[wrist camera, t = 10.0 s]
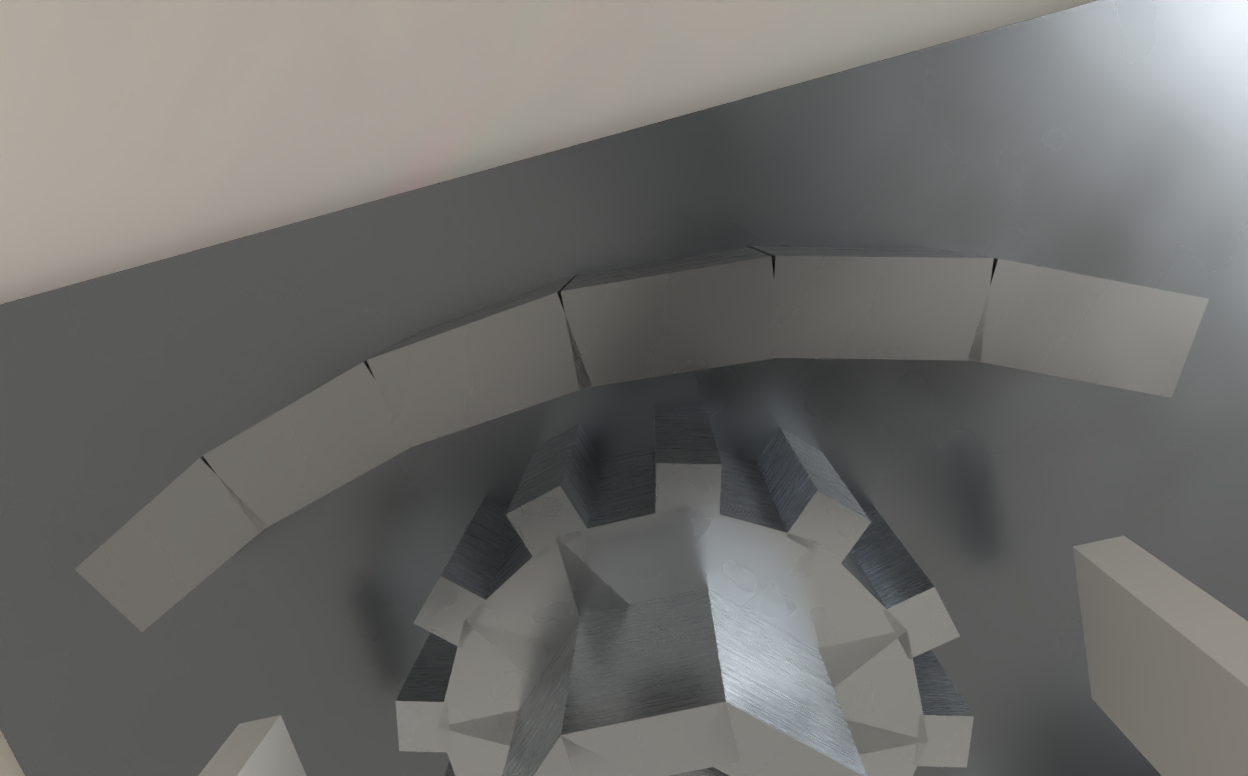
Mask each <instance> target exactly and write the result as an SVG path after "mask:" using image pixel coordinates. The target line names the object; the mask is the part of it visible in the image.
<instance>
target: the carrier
mask: <svg viewBox="0 0 1248 776" xmlns="http://www.w3.org/2000/svg"><path fill="white" fill-rule="evenodd" d="M654 406H702V407H705V408H706V412H707V415H708V419H709V422H710V425H711V429H712V432H713V436H714V439H715V443H716V446H717V450H719V451H722V452H726V453H729V454H733V455H737V456H740V457H744V458H748V459H751V460H755V461H757V460H758V458H759V457H760V455H761V454H762V452H763V451H764V449H765V448H766V447H767V445H768V444H769V442H770V441H771V439H772V438H773V436H774V435H775V433H776V432H777V430H778V429H779V427H780V428H782V429H784V430H785V431H787V432H789V433H791V434H792V435H794V436H796V437H797V438H799V439H801V440H803V441H804V442H806V443H808V444H809V445H811V446H813V447H814V448H816V449H818V450H820V451H821V452H822V453H823V454H824V456H825V457H826V458H827V460H828V461H829V463H830V464H831V465H832V467H833V468H834V470H835V471H836V472H837V474H838V475H839V477H840V478H841V479H842V481H843V482H844V484H845V485H846V487H847V488H848V489H849V491H850V492H851V494H852V495H853V496H854V498H855V499H856V501H857V502H858V503H859V505H860V506H861V508H864V507H866V506H869V505H871V504H873V506H874V507H875V508H876V510H877V511H878V512H879V514H880V515H881V516H882V518H883V519H884V520H885V522H886V523H887V524H888V526H889V527H890V528H891V530H892V531H893V532H894V534H895V535H896V536H897V538H898V539H899V540H900V541H901V543H902V544H903V545H904V547H905V548H906V549H907V551H908V552H909V553H910V555H911V556H912V557H913V559H914V560H915V561H916V563H917V564H918V565H919V567H920V568H921V569H922V571H923V572H924V573H925V575H926V576H927V577H928V579H929V580H930V581H931V583H932V584H933V585H934V587H935V588H936V590H937V592H938V594H939V596H940V598H941V600H942V602H943V604H944V606H945V608H946V610H947V612H948V614H949V616H950V617H951V619H952V621H953V623H954V625H955V627H956V629H957V631H958V633H959V635H960V637H957V638H955V639H953V640H951V641H949V642H946V643H944V644H942V645H940V646H938V647H935V648H933V649H931V650H932V652H933V653H934V655H935V656H936V658H937V659H938V661H939V663H940V664H941V666H942V667H943V669H944V670H945V672H946V674H947V675H948V677H949V678H950V680H951V681H952V683H953V684H954V686H955V688H956V689H957V691H958V692H959V694H960V695H961V697H962V699H963V700H964V702H965V703H966V705H967V706H968V708H969V710H970V711H971V713H972V714H973V716H974V720H973V727H972V734H971V741H970V748H969V755H968V762H967V768H965V767H930V766H917V768H916V770H915V772H914V774H913V776H1161V775H1160V773H1159V772H1158V771H1157V770H1156V769H1155V768H1154V767H1153V766H1152V765H1151V763H1150V762H1149V761H1148V760H1147V759H1146V758H1145V757H1144V756H1143V755H1142V753H1141V752H1140V751H1139V750H1138V749H1137V748H1136V747H1135V746H1134V745H1133V744H1132V742H1131V741H1130V740H1129V739H1128V738H1127V737H1126V736H1125V735H1124V734H1123V732H1122V731H1121V730H1120V729H1119V728H1118V727H1117V726H1116V725H1115V724H1114V722H1113V721H1112V720H1111V719H1110V718H1109V717H1108V716H1107V715H1106V714H1105V712H1104V711H1103V710H1102V709H1101V708H1100V707H1099V706H1098V705H1097V704H1096V702H1095V701H1094V700H1093V699H1092V695H1091V688H1090V680H1089V672H1088V664H1087V656H1086V648H1085V640H1084V632H1083V625H1082V617H1081V609H1080V601H1079V593H1078V585H1077V577H1076V569H1075V562H1074V554H1073V546H1077V545H1082V544H1087V543H1091V542H1096V541H1101V540H1105V539H1110V538H1115V537H1120V536H1125V537H1127V538H1128V539H1130V540H1131V541H1133V542H1134V543H1135V544H1137V545H1138V546H1140V547H1141V548H1143V549H1144V550H1146V551H1147V552H1148V553H1150V554H1151V555H1153V556H1154V557H1156V558H1157V559H1159V560H1160V561H1161V562H1163V563H1164V564H1166V565H1167V566H1169V567H1170V568H1172V569H1173V570H1174V571H1176V572H1177V573H1179V574H1180V575H1182V576H1183V577H1185V578H1186V579H1187V580H1189V581H1190V582H1192V583H1193V584H1195V585H1196V586H1198V587H1199V588H1200V589H1202V590H1203V591H1205V592H1206V593H1208V594H1209V595H1211V596H1212V597H1213V598H1215V599H1216V600H1218V601H1219V602H1221V603H1222V604H1224V605H1225V606H1226V607H1228V608H1229V609H1231V610H1232V611H1234V612H1235V613H1237V614H1238V615H1239V616H1241V617H1242V618H1244V619H1245V620H1247V621H1248V0H1098V1H1095V2H1091V3H1087V4H1084V5H1080V6H1077V7H1073V8H1069V9H1066V10H1062V11H1058V12H1055V13H1051V14H1048V15H1044V16H1040V17H1037V18H1033V19H1030V20H1026V21H1022V22H1019V23H1015V24H1012V25H1008V26H1004V27H1001V28H997V29H994V30H990V31H986V32H983V33H979V34H975V35H972V36H968V37H965V38H961V39H957V40H954V41H950V42H947V43H943V44H939V45H936V46H932V47H929V48H925V49H921V50H918V51H914V52H911V53H907V54H903V55H900V56H896V57H893V58H889V59H885V60H882V61H878V62H874V63H871V64H867V65H864V66H860V67H856V68H853V69H849V70H846V71H842V72H838V73H835V74H831V75H828V76H824V77H820V78H817V79H813V80H810V81H806V82H802V83H799V84H795V85H791V86H788V87H784V88H781V89H777V90H773V91H770V92H766V93H763V94H759V95H755V96H752V97H748V98H745V99H741V100H737V101H734V102H730V103H727V104H723V105H719V106H716V107H712V108H709V109H705V110H701V111H698V112H694V113H690V114H687V115H683V116H680V117H676V118H672V119H669V120H665V121H662V122H658V123H654V124H651V125H647V126H644V127H640V128H636V129H633V130H629V131H626V132H622V133H618V134H615V135H611V136H607V137H604V138H600V139H597V140H593V141H589V142H586V143H582V144H579V145H575V146H571V147H568V148H564V149H561V150H557V151H553V152H550V153H546V154H543V155H539V156H535V157H532V158H528V159H524V160H521V161H517V162H514V163H510V164H506V165H503V166H499V167H496V168H492V169H488V170H485V171H481V172H478V173H474V174H470V175H467V176H463V177H460V178H456V179H452V180H449V181H445V182H442V183H438V184H434V185H431V186H427V187H423V188H420V189H416V190H413V191H409V192H405V193H402V194H398V195H395V196H391V197H387V198H384V199H380V200H377V201H373V202H369V203H366V204H362V205H359V206H355V207H351V208H348V209H344V210H340V211H337V212H333V213H330V214H326V215H322V216H319V217H315V218H312V219H308V220H304V221H301V222H297V223H294V224H290V225H286V226H283V227H279V228H276V229H272V230H268V231H265V232H261V233H258V234H254V235H250V236H247V237H243V238H239V239H236V240H232V241H229V242H225V243H221V244H218V245H214V246H211V247H207V248H203V249H200V250H196V251H193V252H189V253H185V254H182V255H178V256H175V257H171V258H167V259H164V260H160V261H156V262H153V263H149V264H146V265H142V266H138V267H135V268H131V269H128V270H124V271H120V272H117V273H113V274H110V275H106V276H102V277H99V278H95V279H92V280H88V281H84V282H81V283H77V284H73V285H70V286H66V287H63V288H59V289H55V290H52V291H48V292H45V293H41V294H37V295H34V296H30V297H27V298H23V299H19V300H16V301H12V302H9V303H5V304H1V305H0V729H1V731H2V733H3V735H4V736H5V738H6V740H7V742H8V744H9V746H10V748H11V750H12V751H13V753H14V755H15V757H16V759H17V761H18V763H19V765H20V767H21V768H22V770H23V772H24V774H25V776H198V775H199V774H200V773H201V772H202V770H203V769H204V768H205V766H206V765H207V764H208V763H209V761H210V760H211V759H212V758H213V756H214V755H215V754H216V752H217V751H218V750H219V749H220V747H221V746H222V745H223V744H224V742H225V741H226V740H227V739H228V737H229V736H230V735H231V733H232V732H233V731H234V730H235V728H236V727H237V726H238V725H239V724H240V723H245V722H250V721H254V720H259V719H264V718H269V717H273V716H278V715H281V717H282V719H283V721H284V724H285V726H286V728H287V731H288V733H289V736H290V738H291V740H292V743H293V745H294V747H295V750H296V752H297V754H298V757H299V759H300V761H301V764H302V766H303V769H304V771H305V773H306V776H444V774H445V771H446V769H447V766H448V763H449V757H448V754H447V752H413V751H399V740H398V727H397V715H396V702H395V701H396V699H397V697H398V695H399V693H400V691H401V689H402V687H403V685H404V683H405V681H406V679H407V677H408V675H409V673H410V671H411V669H412V667H413V665H414V663H415V661H416V659H417V657H418V656H419V654H420V652H421V650H422V648H423V646H424V644H425V642H426V640H427V638H428V636H429V634H430V632H429V631H427V630H426V629H424V628H422V627H420V626H418V625H416V624H414V621H415V619H416V617H417V616H418V614H419V612H420V610H421V608H422V607H423V605H424V603H425V601H426V600H427V598H428V596H429V594H430V592H431V591H432V589H433V587H434V585H435V583H436V582H437V580H438V578H439V576H440V575H441V573H442V571H443V569H444V567H445V566H446V564H447V562H448V560H449V559H450V557H451V555H452V553H453V551H454V550H455V548H456V546H457V544H458V543H459V541H460V539H461V537H462V535H463V534H464V532H465V530H466V528H467V527H468V525H469V523H470V522H471V520H472V518H473V516H474V515H475V513H476V511H477V510H478V508H479V506H480V504H481V503H482V501H483V499H484V497H487V498H489V499H491V500H493V501H494V502H496V503H498V504H500V505H502V506H503V507H505V508H507V509H508V508H509V506H510V504H511V502H512V500H513V498H514V495H515V493H516V491H517V489H518V487H519V484H520V482H521V480H522V478H523V476H524V474H525V471H526V469H527V467H528V465H529V463H530V461H531V458H532V456H533V454H534V452H535V450H536V447H538V446H539V445H541V444H543V443H545V442H547V441H549V440H551V439H552V438H554V437H556V436H558V435H560V434H562V433H563V432H565V431H567V430H569V429H571V428H573V427H575V426H576V425H578V424H580V426H581V427H582V429H583V431H584V432H585V434H586V436H587V437H588V439H589V441H590V442H591V444H592V445H593V447H594V449H595V450H596V452H597V454H598V455H599V457H600V458H603V457H607V456H612V455H616V454H620V453H624V452H629V451H633V450H637V449H641V448H645V447H650V446H654ZM669 776H729V775H727V774H725V773H723V772H721V771H720V770H718V769H716V768H714V767H710V768H705V769H700V770H695V771H689V772H684V773H679V774H674V775H669Z"/></svg>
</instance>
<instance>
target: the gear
mask: <svg viewBox="0 0 1248 776" xmlns="http://www.w3.org/2000/svg"><path fill="white" fill-rule="evenodd" d="M414 624H416V625H418V626H420V627H422V628H424V629H426V630H427V631H429V632H430V634H429V636H428V638H427V640H426V642H425V644H424V646H423V648H422V650H421V652H420V654H419V656H418V657H417V659H416V661H415V663H414V665H413V667H412V669H411V671H410V673H409V675H408V677H407V679H406V681H405V683H404V685H403V687H402V689H401V691H400V693H399V695H398V697H397V699H396V701H395V702H396V715H397V727H398V740H399V751H413V752H447V754H448V757H449V763H448V766H447V769H446V771H445V774H444V776H669V775H674V774H679V773H684V772H689V771H695V770H700V769H705V768H710V767H714V768H716V769H718V770H720V771H721V772H723V773H725V774H727V775H729V776H913V774H914V772H915V770H916V768H917V766H930V767H965V768H967V762H968V755H969V748H970V741H971V734H972V727H973V720H974V716H973V714H972V713H971V711H970V710H969V708H968V706H967V705H966V703H965V702H964V700H963V699H962V697H961V695H960V694H959V692H958V691H957V689H956V688H955V686H954V684H953V683H952V681H951V680H950V678H949V677H948V675H947V674H946V672H945V670H944V669H943V667H942V666H941V664H940V663H939V661H938V659H937V658H936V656H935V655H934V653H933V652H932V650H931V649H933V648H935V647H938V646H940V645H942V644H944V643H946V642H949V641H951V640H953V639H955V638H957V637H960V635H959V633H958V631H957V629H956V627H955V625H954V623H953V621H952V619H951V617H950V616H949V614H948V612H947V610H946V608H945V606H944V604H943V602H942V600H941V598H940V596H939V594H938V592H937V590H936V588H935V587H934V585H933V584H932V583H931V581H930V580H929V579H928V577H927V576H926V575H925V573H924V572H923V571H922V569H921V568H920V567H919V565H918V564H917V563H916V561H915V560H914V559H913V557H912V556H911V555H910V553H909V552H908V551H907V549H906V548H905V547H904V545H903V544H902V543H901V541H900V540H899V539H898V538H897V536H896V535H895V534H894V532H893V531H892V530H891V528H890V527H889V526H888V524H887V523H886V522H885V520H884V519H883V518H882V516H881V515H880V514H879V512H878V511H877V510H876V508H875V507H874V506H873V504H871V505H869V506H866V507H864V508H861V506H860V505H859V503H858V502H857V501H856V499H855V498H854V496H853V495H852V494H851V492H850V491H849V489H848V488H847V487H846V485H845V484H844V482H843V481H842V479H841V478H840V477H839V475H838V474H837V472H836V471H835V470H834V468H833V467H832V465H831V464H830V463H829V461H828V460H827V458H826V457H825V456H824V454H823V453H822V452H821V451H820V450H818V449H816V448H814V447H813V446H811V445H809V444H808V443H806V442H804V441H803V440H801V439H799V438H797V437H796V436H794V435H792V434H791V433H789V432H787V431H785V430H784V429H782V428H780V427H779V429H778V430H777V432H776V433H775V435H774V436H773V438H772V439H771V441H770V442H769V444H768V445H767V447H766V448H765V449H764V451H763V452H762V454H761V455H760V457H759V458H758V460H757V461H755V460H751V459H748V458H744V457H740V456H737V455H733V454H729V453H726V452H722V451H719V450H717V446H716V443H715V439H714V436H713V432H712V429H711V425H710V422H709V419H708V415H707V412H706V408H705V407H702V406H654V446H650V447H645V448H641V449H637V450H633V451H629V452H624V453H620V454H616V455H612V456H607V457H603V458H600V457H599V455H598V454H597V452H596V450H595V449H594V447H593V445H592V444H591V442H590V441H589V439H588V437H587V436H586V434H585V432H584V431H583V429H582V427H581V426H580V424H578V425H576V426H575V427H573V428H571V429H569V430H567V431H565V432H563V433H562V434H560V435H558V436H556V437H554V438H552V439H551V440H549V441H547V442H545V443H543V444H541V445H539V446H538V447H536V450H535V452H534V454H533V456H532V458H531V461H530V463H529V465H528V467H527V469H526V471H525V474H524V476H523V478H522V480H521V482H520V484H519V487H518V489H517V491H516V493H515V495H514V498H513V500H512V502H511V504H510V506H509V508H508V509H507V508H505V507H503V506H502V505H500V504H498V503H496V502H494V501H493V500H491V499H489V498H487V497H484V499H483V501H482V503H481V504H480V506H479V508H478V510H477V511H476V513H475V515H474V516H473V518H472V520H471V522H470V523H469V525H468V527H467V528H466V530H465V532H464V534H463V535H462V537H461V539H460V541H459V543H458V544H457V546H456V548H455V550H454V551H453V553H452V555H451V557H450V559H449V560H448V562H447V564H446V566H445V567H444V569H443V571H442V573H441V575H440V576H439V578H438V580H437V582H436V583H435V585H434V587H433V589H432V591H431V592H430V594H429V596H428V598H427V600H426V601H425V603H424V605H423V607H422V608H421V610H420V612H419V614H418V616H417V617H416V619H415V621H414Z"/></svg>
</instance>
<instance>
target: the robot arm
mask: <svg viewBox="0 0 1248 776" xmlns="http://www.w3.org/2000/svg"><path fill="white" fill-rule="evenodd" d="M1073 554H1074V562H1075V569H1076V577H1077V585H1078V593H1079V601H1080V609H1081V617H1082V625H1083V632H1084V640H1085V648H1086V656H1087V664H1088V672H1089V680H1090V688H1091V695H1092V699H1093V700H1094V701H1095V702H1096V704H1097V705H1098V706H1099V707H1100V708H1101V709H1102V710H1103V711H1104V712H1105V714H1106V715H1107V716H1108V717H1109V718H1110V719H1111V720H1112V721H1113V722H1114V724H1115V725H1116V726H1117V727H1118V728H1119V729H1120V730H1121V731H1122V732H1123V734H1124V735H1125V736H1126V737H1127V738H1128V739H1129V740H1130V741H1131V742H1132V744H1133V745H1134V746H1135V747H1136V748H1137V749H1138V750H1139V751H1140V752H1141V753H1142V755H1143V756H1144V757H1145V758H1146V759H1147V760H1148V761H1149V762H1150V763H1151V765H1152V766H1153V767H1154V768H1155V769H1156V770H1157V771H1158V772H1159V773H1160V775H1161V776H1248V621H1247V620H1245V619H1244V618H1242V617H1241V616H1239V615H1238V614H1237V613H1235V612H1234V611H1232V610H1231V609H1229V608H1228V607H1226V606H1225V605H1224V604H1222V603H1221V602H1219V601H1218V600H1216V599H1215V598H1213V597H1212V596H1211V595H1209V594H1208V593H1206V592H1205V591H1203V590H1202V589H1200V588H1199V587H1198V586H1196V585H1195V584H1193V583H1192V582H1190V581H1189V580H1187V579H1186V578H1185V577H1183V576H1182V575H1180V574H1179V573H1177V572H1176V571H1174V570H1173V569H1172V568H1170V567H1169V566H1167V565H1166V564H1164V563H1163V562H1161V561H1160V560H1159V559H1157V558H1156V557H1154V556H1153V555H1151V554H1150V553H1148V552H1147V551H1146V550H1144V549H1143V548H1141V547H1140V546H1138V545H1137V544H1135V543H1134V542H1133V541H1131V540H1130V539H1128V538H1127V537H1125V536H1120V537H1115V538H1110V539H1105V540H1101V541H1096V542H1091V543H1087V544H1082V545H1077V546H1073ZM198 776H306V773H305V771H304V769H303V766H302V764H301V761H300V759H299V757H298V754H297V752H296V750H295V747H294V745H293V743H292V740H291V738H290V736H289V733H288V731H287V728H286V726H285V724H284V721H283V719H282V717H281V715H278V716H273V717H269V718H264V719H259V720H254V721H250V722H245V723H240V724H239V725H238V726H237V727H236V728H235V730H234V731H233V732H232V733H231V735H230V736H229V737H228V739H227V740H226V741H225V742H224V744H223V745H222V746H221V747H220V749H219V750H218V751H217V752H216V754H215V755H214V756H213V758H212V759H211V760H210V761H209V763H208V764H207V765H206V766H205V768H204V769H203V770H202V772H201V773H200V774H199V775H198Z"/></svg>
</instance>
